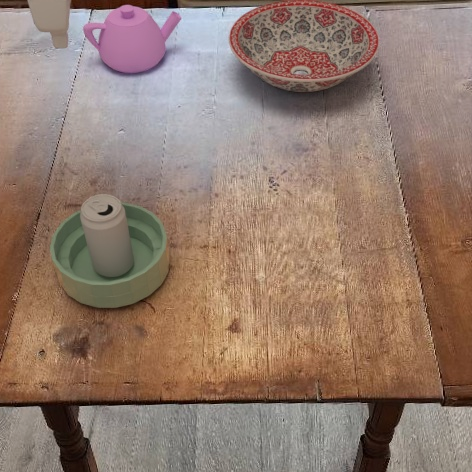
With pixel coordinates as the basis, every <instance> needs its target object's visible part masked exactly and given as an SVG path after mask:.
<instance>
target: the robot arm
mask: <svg viewBox="0 0 472 472" xmlns="http://www.w3.org/2000/svg"><path fill="white" fill-rule="evenodd" d="M27 4H28V8H29V11H30V15H31V19H32V21H33V24H34V26H35V27H36V29H37V31H39V32H40V33H49V35H50V36H51V41H52V46H53V47H54V49H68V46H69V36H68V35H69V34H68V31H69V26H70V13H71V4H72V0H27Z"/></svg>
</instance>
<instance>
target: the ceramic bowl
mask: <svg viewBox="0 0 472 472" xmlns="http://www.w3.org/2000/svg"><path fill="white" fill-rule="evenodd" d="M228 45H229V48H230V50H231V52H232V54H233V56H234V57H235V58H236V59H237V60H238V61H239V62H240V63H241V64H242V65H244V66H246V67H247V68H248V69H249V70H250V71H251V72H252V74H254V75H255V76H256V77H258V78H259V79H260V80H261V81H263V82H265V83H267V84H268V85H270V86H273V87H275V88H278V89H281V90H284V91H288V92H294V93H295V92H297V93H311V92H319V91H325V90H327V89H330V88H333V87H335V86H338V85H339V84H342V83H343V82H345V81H347V80H348V79H349V78H350V77H352V76H353V75H355V74H356V73H357V72H360V71H361V70H363V69H365V68H366V67H367V66H368V65H369V64H371V62H373V60H374V59H375V58H376V56H377V54H378V52H379V49H380V37H379V34H378V32H377V30H376V28H375V27H374V25H373V24H372V23H371V22H370V21H369V20H368V19H367V18H365V17H364V16H363V15H361V14H360V13H357V12H356V11H354V10H352V9H350V8H347V7H345V6H342V5H339V4H336V3H331V2H327V1H320V0H280V1H273V2H270V3H266V4H263V5H260V6H257V7H255V8H252V9H250V10H248V11H247V12H245V13H244V14H243V15H241V16H239V18H237V19H236V21H235V22H234V23H233V25H232V26H231V28H230V30H229V34H228ZM298 71H304V72H307V74H299V73H297V74H296V73H295V72H298Z"/></svg>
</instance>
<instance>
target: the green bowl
mask: <svg viewBox="0 0 472 472" xmlns="http://www.w3.org/2000/svg"><path fill="white" fill-rule="evenodd" d="M120 202H121V204H122V205H123V207H124V209H125V214H126V219H127V224H128V230H129V235H130V240H131V246H132V251H133V257H134V263H133V266H132V267H131V269H130V270H129V271H128V272H126V273H125V274H123V275H121V276H117V277H105V276H102V275H100V274H98V273H97V272H96V271H95V270H94V268H93V265H92V261H91V257H90V253H89V250H88V246H87V242H86V238H85V234H84V230H83V226H82V223H81V219H80V214H81V209H80V210H76V211H75V212H73V213H72V214H71V215H69V216H68V217H67V218H65V219H64V220H63V221H62V222H61V223H60V224H59V225H58V227H57V228H56V229H55V231H54V232H53V234H52V236H51V241H50V245H49V251H50V256H51V262H52V264H53V267H54V270H55V274H56V277H57V280H58V283H59V285H60V286H61V288H62V289H63V290H64V292H65V293H66V294H67V296H69V297H70V298H72V299H74V300H75V301H77V302H78V303H80V304H83V305H86V306H90V307H93V308H97V309H116V308H121V307H125V306H130V305H134V304H136V303H137V302H139V301H141V300H143V299H146V298H148V297H149V296H151V295H152V294H153V293H154V292H155V291H156V290H157V289H159V287H161V286H162V285H163V283H164V282H165V280H166V277H167V275H168V274H169V270H170V261H171V258H170V251H169V241H168V234H167V232H166V228H165V225H164V223H163V222H162V221H161V220H160V219H159V217H158V216H157V215H156V214H155V213H154V212H152V211H151V210H148V209H146V208H145V207H143V206H141V205H138V204H133V203H129V202H126V201H125V202H124V201H120Z"/></svg>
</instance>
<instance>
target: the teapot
mask: <svg viewBox="0 0 472 472" xmlns="http://www.w3.org/2000/svg"><path fill="white" fill-rule="evenodd" d="M182 19H183V18H182V16H181V15H180V14H179V13H177V12H176V11H174V10H173V11H171V13H170V14H169V16H168V18H166V21H165V22H164V24H163V25H162V27H161V28H160V26H159V25H158V23H157V22H156V20H155V19H154V18H153V16H152V15H151V14H150V13H149V12H148V11H147V10H145V9H144V8H142V7H140V6H133V5H131V4H124V5H121V6H120V7H117V8H115V9H113V10H111V11H110V12H109V13H108V14H107V16H106V17H105V20H104V22H87V23H85V24H83V27H82V31H83V34H84V36H85V38H86V39H87V40H88V42H89V43H90V44H91V45H92V46H93V47H94V48H95V49H96V50H97V51H98V55H99V57H100V59H101V61H102V62H103V63H104V64H106V65H107V66H108V67H109V68H111V69H112V70H114V71H115V72H119V73H124V74H136V73H143V72H146V71H148V70H151V69H153V68H154V67H156V66H157V65H158V64H159V62H161V60H162V59H163V57H164V56H165V53H166V50H167V47H166V42H167V40H168V39H169V38H170V36H171V35H172V33H173V32H174V31H175V29H176V27H177V26H178V25H179V23H180V22H181V20H182ZM94 30H100V32H99V35H98V40H96V38H95V35H94V34H93V31H94Z"/></svg>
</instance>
